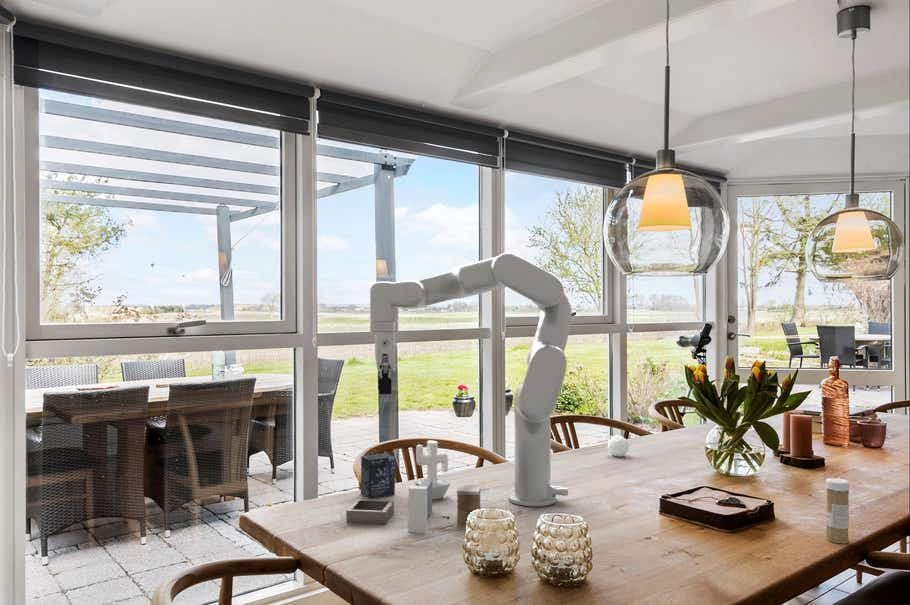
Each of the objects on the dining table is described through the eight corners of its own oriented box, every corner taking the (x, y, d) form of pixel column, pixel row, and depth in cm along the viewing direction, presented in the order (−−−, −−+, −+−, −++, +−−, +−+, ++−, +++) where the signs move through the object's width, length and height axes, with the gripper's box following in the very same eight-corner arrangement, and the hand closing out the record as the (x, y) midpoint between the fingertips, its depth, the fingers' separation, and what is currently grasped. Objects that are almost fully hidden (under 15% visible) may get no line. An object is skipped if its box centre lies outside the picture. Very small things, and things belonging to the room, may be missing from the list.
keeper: (394, 512, 169) (394, 500, 169) (385, 524, 160) (385, 512, 160) (356, 511, 170) (357, 499, 170) (346, 523, 161) (346, 510, 161)
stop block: (480, 519, 164) (480, 485, 164) (478, 526, 159) (478, 491, 159) (459, 518, 165) (459, 485, 165) (456, 525, 160) (456, 490, 160)
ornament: (625, 459, 228) (610, 440, 229) (612, 462, 234) (598, 443, 235) (637, 446, 232) (622, 427, 232) (624, 450, 238) (610, 432, 239)
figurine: (453, 497, 183) (454, 441, 183) (423, 502, 178) (423, 445, 178) (440, 490, 189) (440, 437, 189) (410, 495, 184) (410, 440, 184)
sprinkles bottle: (825, 536, 153) (825, 476, 153) (848, 539, 151) (848, 478, 151) (826, 542, 149) (826, 481, 149) (850, 545, 147) (850, 483, 147)
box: (369, 499, 181) (369, 459, 181) (360, 494, 185) (360, 455, 185) (395, 494, 185) (395, 456, 185) (385, 490, 190) (386, 452, 190)
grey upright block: (436, 511, 170) (436, 471, 170) (425, 532, 154) (425, 488, 154) (420, 510, 171) (420, 471, 171) (408, 532, 155) (408, 488, 155)
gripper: (400, 328, 173) (400, 395, 173) (396, 326, 190) (396, 387, 190) (370, 329, 172) (370, 396, 172) (369, 326, 189) (370, 388, 189)
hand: (384, 391), depth 181 cm, fingers open, 9 cm apart
